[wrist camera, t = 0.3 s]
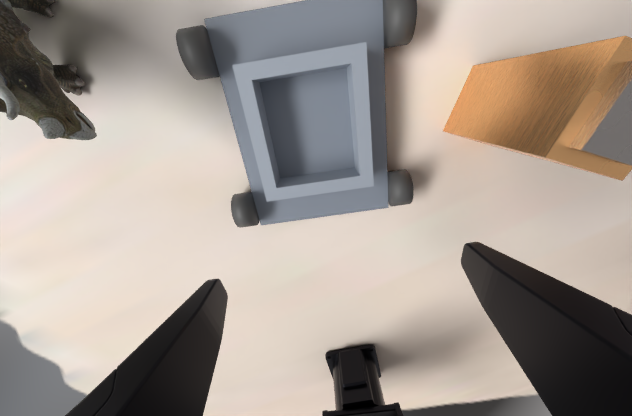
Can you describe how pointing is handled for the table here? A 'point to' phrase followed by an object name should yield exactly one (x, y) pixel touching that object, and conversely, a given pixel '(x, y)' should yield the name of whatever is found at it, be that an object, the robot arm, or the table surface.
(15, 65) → the dinosaur figurine
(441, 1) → the table surface
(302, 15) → the chassis
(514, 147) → the orange block gray top
